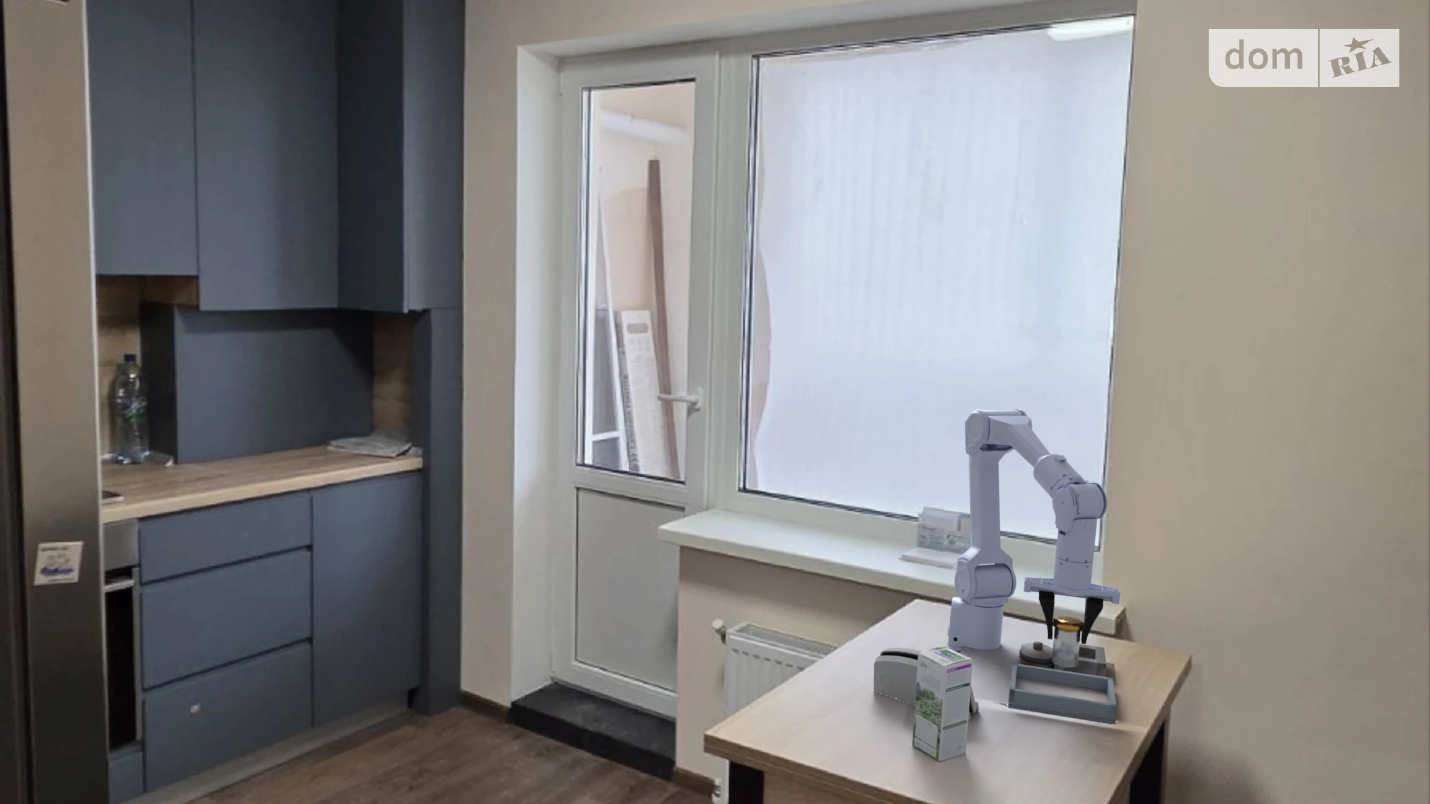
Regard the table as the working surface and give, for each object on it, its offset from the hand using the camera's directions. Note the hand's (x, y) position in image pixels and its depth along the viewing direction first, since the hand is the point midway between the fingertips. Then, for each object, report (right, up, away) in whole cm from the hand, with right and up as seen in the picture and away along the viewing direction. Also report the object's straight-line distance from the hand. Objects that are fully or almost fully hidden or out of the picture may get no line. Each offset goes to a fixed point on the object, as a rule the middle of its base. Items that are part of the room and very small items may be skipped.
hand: (1066, 639), depth 174 cm
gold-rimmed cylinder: (0, -4, +1) cm, 4 cm away
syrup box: (-24, -12, -18) cm, 33 cm away
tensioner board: (+4, -9, +14) cm, 17 cm away
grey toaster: (-24, -10, -2) cm, 26 cm away
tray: (-1, -10, +1) cm, 10 cm away
